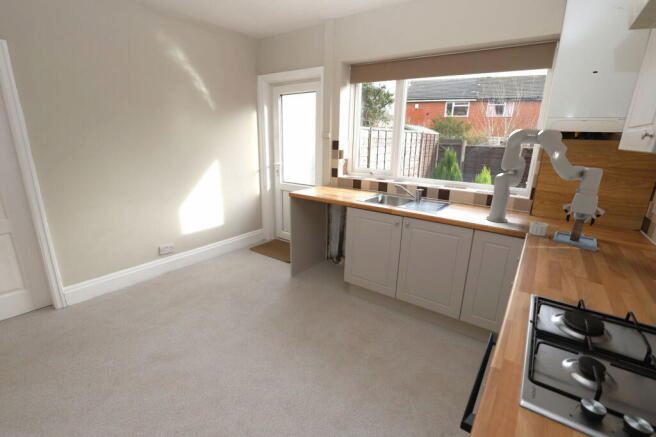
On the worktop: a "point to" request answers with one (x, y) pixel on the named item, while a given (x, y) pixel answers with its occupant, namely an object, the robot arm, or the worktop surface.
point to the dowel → (577, 229)
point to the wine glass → (582, 216)
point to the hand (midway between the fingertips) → (579, 223)
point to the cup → (538, 228)
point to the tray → (583, 241)
